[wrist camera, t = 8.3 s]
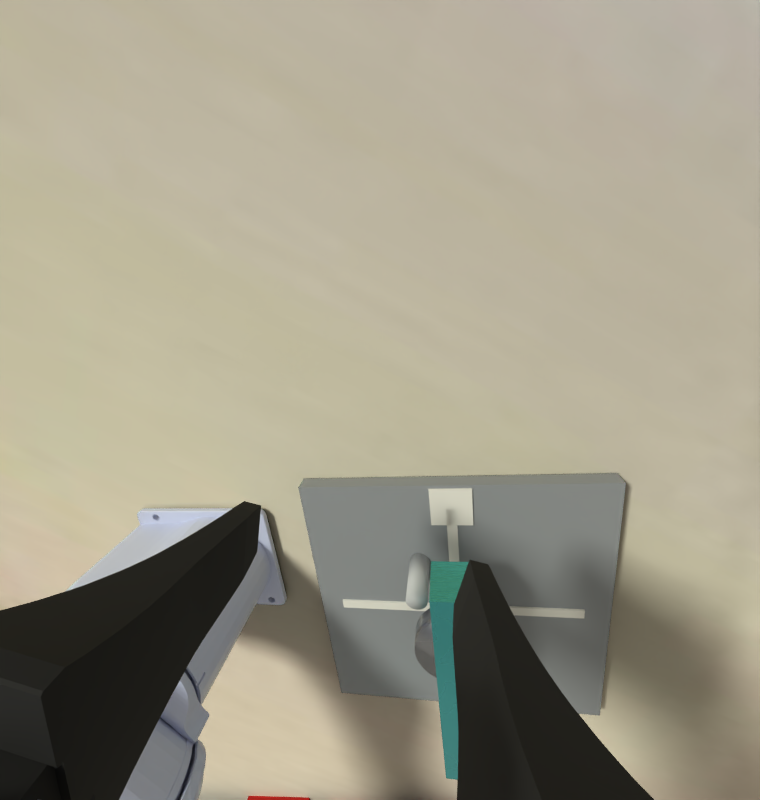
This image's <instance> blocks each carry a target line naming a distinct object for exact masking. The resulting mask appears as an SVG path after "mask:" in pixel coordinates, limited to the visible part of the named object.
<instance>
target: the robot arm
mask: <svg viewBox="0 0 760 800" xmlns="http://www.w3.org/2000/svg"><path fill="white" fill-rule="evenodd" d="M137 516H138V520H139V522H140V525H139V526H138V527H137V528H136V529H135V530H134V531H132V532H131V533H130V534H129V535H128V536H127V537H126V538H124V539H123V540H122V541H121V542H120V543H119V544H118V545H116V546H115V547H114V548H113V549H112V550H111V551H110V552H109V553H107V554H106V555H105V556H104V557H103V558H102V559H101V560H99V561H98V562H97V563H96V564H95V565H94V566H93V567H91V568H90V569H89V570H88V571H87V572H86V573H85V574H83V575H82V576H81V577H80V578H79V579H78V580H77V581H76V582H74V583H73V584H72V585H71V586H70V587H69V588H68V589H67V590H66V591H65V592H63V593H60V594H56V595H53V596H50V597H47V598H44V599H41V600H37V601H34V602H31V603H27V604H23V605H19V606H16V607H12V608H8V609H5V610H1V611H0V800H198V798H199V795H200V791H201V787H202V783H203V775H204V768H205V760H206V751H205V747H204V745H203V743H202V742H201V741H199V740H198V737H199V735H200V733H201V731H202V729H203V727H204V725H205V723H206V721H207V719H208V717H209V713H208V712H207V711H206V710H205V709H204V708H203V707H202V706H201V705H202V703H203V701H204V699H205V698H206V696H207V694H208V692H209V690H210V688H211V687H212V685H213V683H214V681H215V679H216V677H217V675H218V674H219V672H220V670H221V668H222V666H223V664H224V662H225V661H226V659H227V657H228V655H229V653H230V651H231V650H232V648H233V646H234V644H235V642H236V640H237V638H238V637H239V635H240V633H241V631H242V629H243V627H244V626H245V624H246V622H247V620H248V618H249V616H250V614H251V613H252V611H253V609H254V607H255V605H256V604H266V605H283V604H284V603H285V601H286V599H287V596H286V592H285V588H284V584H283V580H282V576H281V572H280V568H279V564H278V560H277V556H276V551H275V547H274V543H273V539H272V535H271V531H270V527H269V523H268V519H267V515H266V513H265V511H264V510H262V509H261V506H260V505H256V504H253V503H249V502H245V501H244V502H242V503H241V504H239V505H237V506H236V507H234V508H144V509H142V510H141V511H139V512H138V514H137ZM272 597H273V598H272ZM452 638H453V654H454V669H455V683H456V698H457V712H458V788H457V800H654V799H653V798H652V797H651V796H650V795H649V794H648V793H647V792H646V791H645V790H644V789H643V788H642V787H641V786H640V785H639V784H638V783H637V782H636V781H635V780H634V778H633V777H632V776H631V775H630V774H629V773H628V772H627V771H626V770H625V769H624V767H623V766H622V765H621V764H620V763H619V762H618V761H617V760H616V758H615V757H614V756H613V755H612V754H611V753H610V752H609V751H608V749H607V748H606V747H605V746H604V745H603V744H602V742H601V741H600V740H599V739H598V738H597V736H596V735H595V734H594V733H593V732H592V730H591V729H590V728H589V727H588V725H587V724H586V723H585V722H584V720H583V719H582V718H581V717H580V715H579V714H578V713H577V712H576V710H575V709H574V708H573V706H572V705H571V704H570V702H569V701H568V700H567V698H566V697H565V696H564V694H563V693H562V692H561V690H560V689H559V687H558V686H557V685H556V683H555V682H554V680H553V679H552V677H551V676H550V675H549V673H548V672H547V670H546V669H545V667H544V666H543V664H542V662H541V661H540V659H539V658H538V656H537V654H536V653H535V651H534V650H533V648H532V646H531V645H530V643H529V641H528V640H527V638H526V636H525V634H524V633H523V631H522V629H521V627H520V625H519V624H518V622H517V620H516V618H515V616H514V615H513V613H512V611H511V609H510V607H509V605H508V603H507V601H506V599H505V597H504V595H503V593H502V591H501V589H500V587H499V585H498V583H497V581H496V579H495V577H494V575H493V572H492V570H491V568H490V567H489V565H488V564H485V563H481V562H477V561H474V560H469V562H468V565H467V568H466V571H465V574H464V577H463V580H462V583H461V585H460V588H459V591H458V594H457V597H456V600H455V603H454V611H453V636H452Z"/></svg>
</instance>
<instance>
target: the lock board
mask: <svg viewBox="0 0 760 800" xmlns="http://www.w3.org/2000/svg"><path fill="white" fill-rule="evenodd" d="M625 487H626V483H625V481H624V480H623V479H622V478H621V476H620V475H619V474H618V473H599V474H541V475H484V476H426V477H368V478H311V479H303V481H302V483H301V484H300V486H299V487H298V488H299V493H300V497H301V502H302V507H303V512H304V516H305V521H306V526H307V531H308V535H309V540H310V545H311V550H312V554H313V559H314V564H315V569H316V573H317V578H318V583H319V587H320V592H321V597H322V602H323V606H324V611H325V616H326V621H327V625H328V630H329V635H330V640H331V644H332V649H333V654H334V659H335V663H336V668H337V673H338V678H339V682H340V687H341V692H342V693H351V694H363V695H374V696H385V697H397V698H408V699H419V700H431V701H439V697H438V687H437V678H436V677H434V676H432V675H431V674H429V673H428V672H427V671H426V670H425V669H424V668H423V667H422V666H421V665H420V663H419V662H418V660H417V658H416V655H415V634H416V625H417V622H418V619H419V618H420V616H421V615H422V614H423V613H424V612H425V611H426V610H428V609H429V608H430V603H429V597H430V573H431V561H450V562H469V560H474V561H477V562H481V563H485V564H488V565H489V567H490V568H491V570H492V572H493V575H494V577H495V579H496V581H497V583H498V585H499V587H500V589H501V591H502V593H503V595H504V597H505V599H506V601H507V603H508V605H509V607H510V609H511V611H512V613H513V615H514V616H515V618H516V620H517V622H518V624H519V625H520V627H521V629H522V631H523V633H524V634H525V636H526V638H527V640H528V641H529V643H530V645H531V646H532V648H533V650H534V651H535V653H536V654H537V656H538V658H539V659H540V661H541V662H542V664H543V666H544V667H545V669H546V670H547V672H548V673H549V675H550V676H551V677H552V679H553V680H554V682H555V683H556V685H557V686H558V687H559V689H560V690H561V692H562V693H563V694H564V696H565V697H566V698H567V700H568V701H569V702H570V704H571V705H572V706H573V708H574V709H575V710H576V712H577V713H578V714H589V715H600V709H601V700H602V691H603V682H604V673H605V664H606V656H607V647H608V638H609V629H610V620H611V611H612V602H613V593H614V585H615V576H616V567H617V558H618V549H619V540H620V531H621V522H622V513H623V505H624V496H625Z"/></svg>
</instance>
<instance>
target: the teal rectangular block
mask: <svg viewBox="0 0 760 800" xmlns="http://www.w3.org/2000/svg"><path fill="white" fill-rule="evenodd" d="M467 565H468V562H450V561H431V573H430V597H429V603H430V608H429V609H428V610H426V611H425V612H424V613H423V614H422V615H421V616H420V618H419V619H418V622H417V625H416V634H415V655H416V658H417V660H418V662H419V663H420V665H421V666H422V667H423V668H424V669H425V670H426V671H427V672H428V673H429V674H431V675H432V676H434V677H436V678H437V687H438V697H439V708H440V718H441V729H442V739H443V749H444V760H445V770H446V778H448V779H457V780H458V712H457V698H456V683H455V669H454V654H453V638H452V636H453V611H454V603H455V600H456V597H457V594H458V591H459V588H460V585H461V583H462V580H463V577H464V574H465V571H466V568H467Z"/></svg>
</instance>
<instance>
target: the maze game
mask: <svg viewBox="0 0 760 800" xmlns="http://www.w3.org/2000/svg"><path fill="white" fill-rule="evenodd" d="M247 800H310V798H303V797H267V796H249V797H248V799H247Z"/></svg>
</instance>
